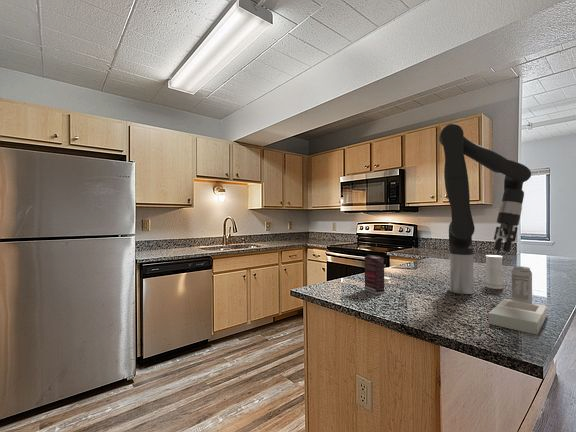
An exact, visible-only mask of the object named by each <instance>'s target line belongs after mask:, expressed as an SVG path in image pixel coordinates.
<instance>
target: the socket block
mask: <svg viewBox="0 0 576 432" xmlns="http://www.w3.org/2000/svg"><path fill="white" fill-rule="evenodd" d="M547 309H548V306H547V305H543V304H537V303H532V304H531V303H525V302H519V301H513V300H512V299H508V298H507V299H506V298H504V299H502V300H501V301H500V302H499V303H498V304H497V305H496V306H494V307H493V308H492V309H491V310H490V311H489V312H488V324H489V325H493V326H498V327H502V328H507V329H511V330H514V331H515V330H516V331H519V332H524V333H528V334H532V335H537V336H538V334H539V333H540V330H541V329H542V327H543V324H544V322H545V321H546V319H547V317H548V314H547V313H548V312H547V311H548V310H547Z"/></svg>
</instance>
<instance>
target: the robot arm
mask: <svg viewBox="0 0 576 432" xmlns="http://www.w3.org/2000/svg"><path fill="white" fill-rule="evenodd" d="M438 137H439V138H438V139H439V140H438V141H439V143H440V145H441V146H443V153H444V166H443V167H444V170H443V171H444V172H443V174H444V175H443V177H444V186H445V187H444V188H445V192H446V197H447V200H448V203H449V206H450V211H451V222H450V223H449V226H448V247H449V248H448V249H449V270H448V271H449V272H448V273H449V275H448V277H449V281H448V283H449V285H448V286H449V287H448V289H449V291H450V293H454V294H458V295H459V294H461V295H472V294H474V290H475V289H474V282H475V281H474V247H473V235H474V233H475V229H476V228H475V223H474V219H473V215H472V211H471V206H470V205H471V202H470V201H471V200H470V199H471V198H470V196H471V195H470V183H469V175H468V169H467V163H466V159H465V156H466V157H468V158H469V159H472V160H473V161H475V162H476V163H478V164H480V165H482V166H483V167H485V168H486V169H488V170H490V171H491V172H493V173H496V174H497V173H499V174H502V175H505V176H504V180H503V181H504V183H503V193H502V199H501V203H500V206H499V209H498V215H497V219H496V223H497V224H500V225H499V226H496V227H495V232H494V236H493V240H494V241H495V244H494V248H493V250H494V251H498V252H500V251H501V250H502V251H503V252H508V253H510V251H511V245H512V244H513V242H515V241H516V239H517V234H518V229H519V228H518V226H519V224H520V220H521V214H522V209H523V203H524V197H525V192H524V190H523V185H524V183H525V182H527V181H528V180H529V179H530V178H531V177H532V172H531V169H530V168H529V167H527V166H526V165H524V164H523V163H520V162H517V161H514V160H512V159H508V158H507V157H505V156H504V155H501V154H500V153H498V152H497V151H494V150H492V149H491V148H488V147H486V146H485V147H484V146H483V145H480V144H477V143H475V142H473V141H471V140H469V139H468V138H467V137H466V136H464V129H463V128H462V126H461V125H459V124H457V123H449V124H447V125H445V126H444V127H443V128H442V130H441V131H440V133H439V136H438ZM503 241H504V242H503ZM502 244H503V247H502Z"/></svg>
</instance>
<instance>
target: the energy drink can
mask: <svg viewBox="0 0 576 432" xmlns="http://www.w3.org/2000/svg"><path fill="white" fill-rule="evenodd" d="M511 300H513V301H519V302H525V303H531V304H533V273H532V270H531V267H527V266H522V265H521V266H519V265H518V266H513V268H512V270H511Z"/></svg>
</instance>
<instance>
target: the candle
mask: <svg viewBox="0 0 576 432" xmlns="http://www.w3.org/2000/svg"><path fill="white" fill-rule="evenodd" d="M485 258H486V259H485V260H486V261H485V262H486V263H485V264H486V265H485V268H484V269H485V275H484V276H485V283H486V284H487V285H486V288H488V289H494V290H501V289H502V285H504V283H503V281H504V280H503V278H504V268H503V258H504V256H503V255H495V254H494V255H493V254H486V255H485Z"/></svg>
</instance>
